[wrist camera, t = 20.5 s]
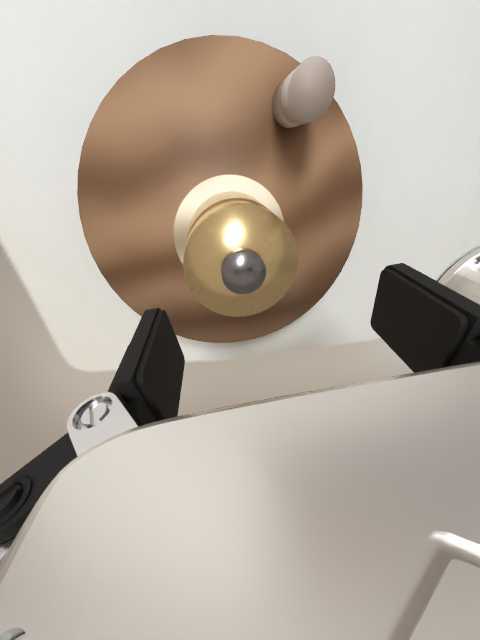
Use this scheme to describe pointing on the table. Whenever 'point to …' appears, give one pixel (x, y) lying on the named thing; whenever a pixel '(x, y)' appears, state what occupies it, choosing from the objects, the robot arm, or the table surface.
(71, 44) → the table surface
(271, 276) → the cover
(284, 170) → the turntable
